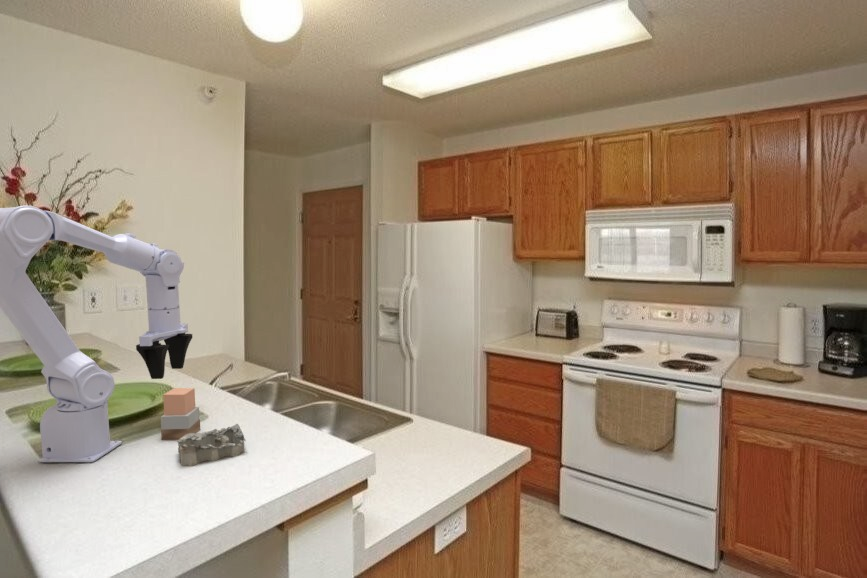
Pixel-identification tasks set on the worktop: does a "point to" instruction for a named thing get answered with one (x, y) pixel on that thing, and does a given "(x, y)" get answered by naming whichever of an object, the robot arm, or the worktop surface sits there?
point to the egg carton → (210, 445)
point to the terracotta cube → (179, 401)
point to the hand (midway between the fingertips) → (167, 373)
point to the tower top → (180, 420)
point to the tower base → (179, 432)
